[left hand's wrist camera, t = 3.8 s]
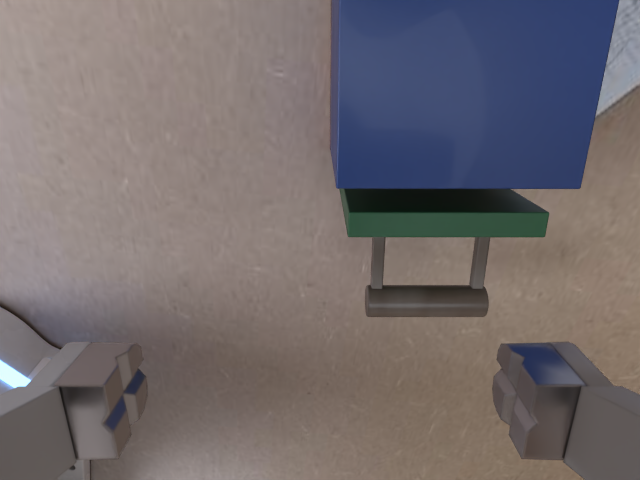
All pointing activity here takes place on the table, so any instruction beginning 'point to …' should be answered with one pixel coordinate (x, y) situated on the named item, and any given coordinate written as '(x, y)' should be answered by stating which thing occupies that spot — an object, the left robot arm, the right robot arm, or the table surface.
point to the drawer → (436, 221)
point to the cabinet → (465, 92)
